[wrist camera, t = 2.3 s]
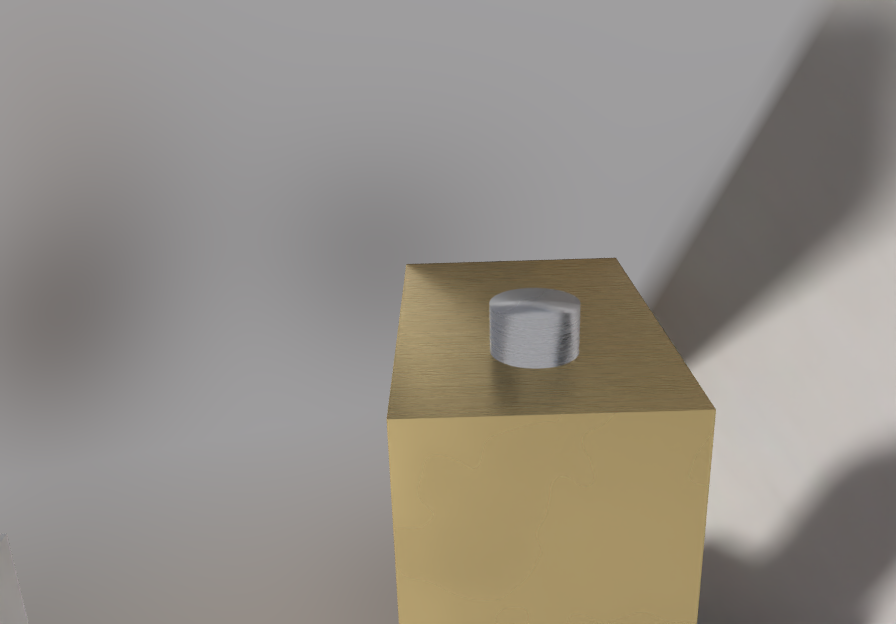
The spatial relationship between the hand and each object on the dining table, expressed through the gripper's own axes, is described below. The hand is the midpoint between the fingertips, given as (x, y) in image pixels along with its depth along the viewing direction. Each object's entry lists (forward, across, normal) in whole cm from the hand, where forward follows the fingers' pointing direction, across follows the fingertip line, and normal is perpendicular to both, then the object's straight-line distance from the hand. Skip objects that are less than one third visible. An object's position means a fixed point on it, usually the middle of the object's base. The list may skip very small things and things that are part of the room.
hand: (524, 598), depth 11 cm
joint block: (+8, +1, 0) cm, 8 cm away
